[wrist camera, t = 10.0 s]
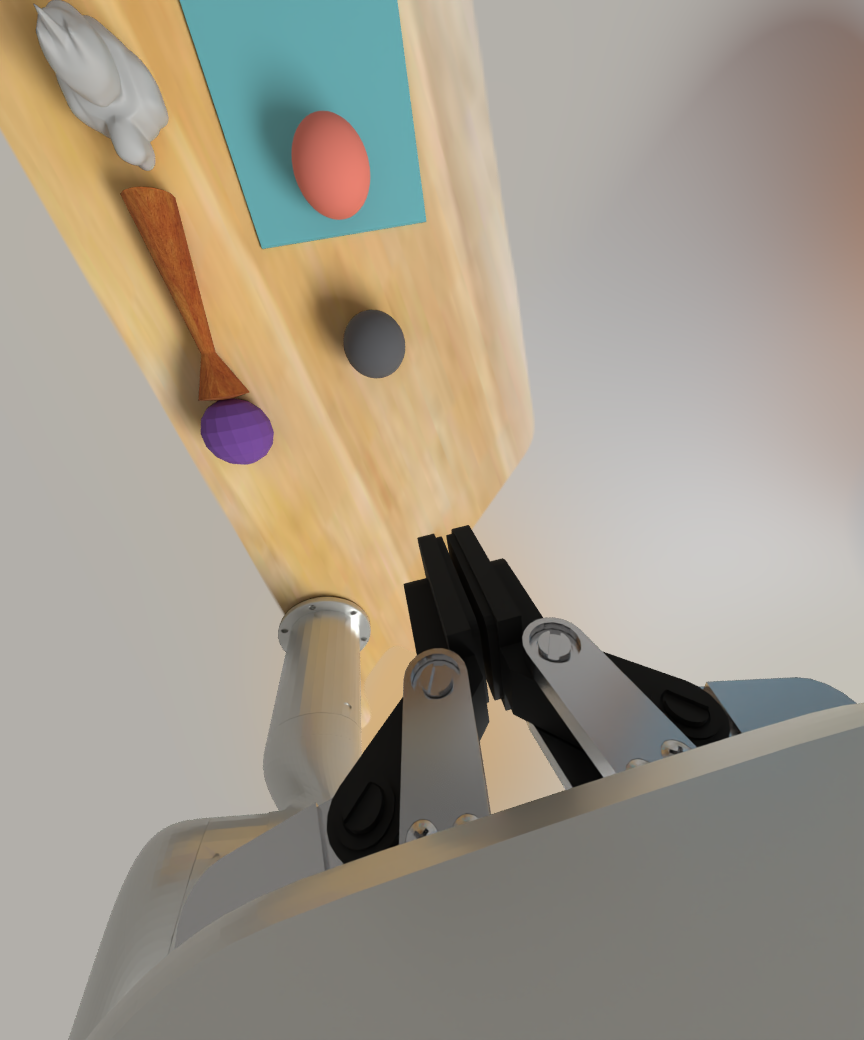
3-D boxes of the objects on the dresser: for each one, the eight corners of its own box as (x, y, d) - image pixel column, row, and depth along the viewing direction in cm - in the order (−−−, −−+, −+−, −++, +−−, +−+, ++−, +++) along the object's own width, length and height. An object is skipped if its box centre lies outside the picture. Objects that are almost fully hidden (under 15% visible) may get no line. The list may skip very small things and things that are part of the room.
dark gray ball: (407, 316, 27) (394, 297, 31) (338, 326, 27) (334, 306, 30) (413, 382, 31) (402, 359, 35) (354, 393, 31) (349, 368, 34)
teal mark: (425, 221, 29) (426, 221, 29) (262, 249, 28) (262, 248, 28) (389, -54, 22) (389, -57, 22) (169, -33, 21) (167, -37, 21)
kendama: (184, 177, 23) (281, 462, 32) (203, 213, 28) (282, 450, 37) (77, 176, 21) (210, 477, 30) (118, 215, 26) (222, 462, 35)
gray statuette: (151, 43, 22) (61, -84, 15) (198, 179, 26) (141, 124, 19) (61, 47, 22) (-74, -82, 15) (121, 186, 25) (33, 132, 18)
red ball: (372, 146, 22) (354, 82, 23) (287, 159, 21) (271, 92, 22) (381, 232, 27) (366, 177, 28) (313, 243, 27) (300, 187, 28)
